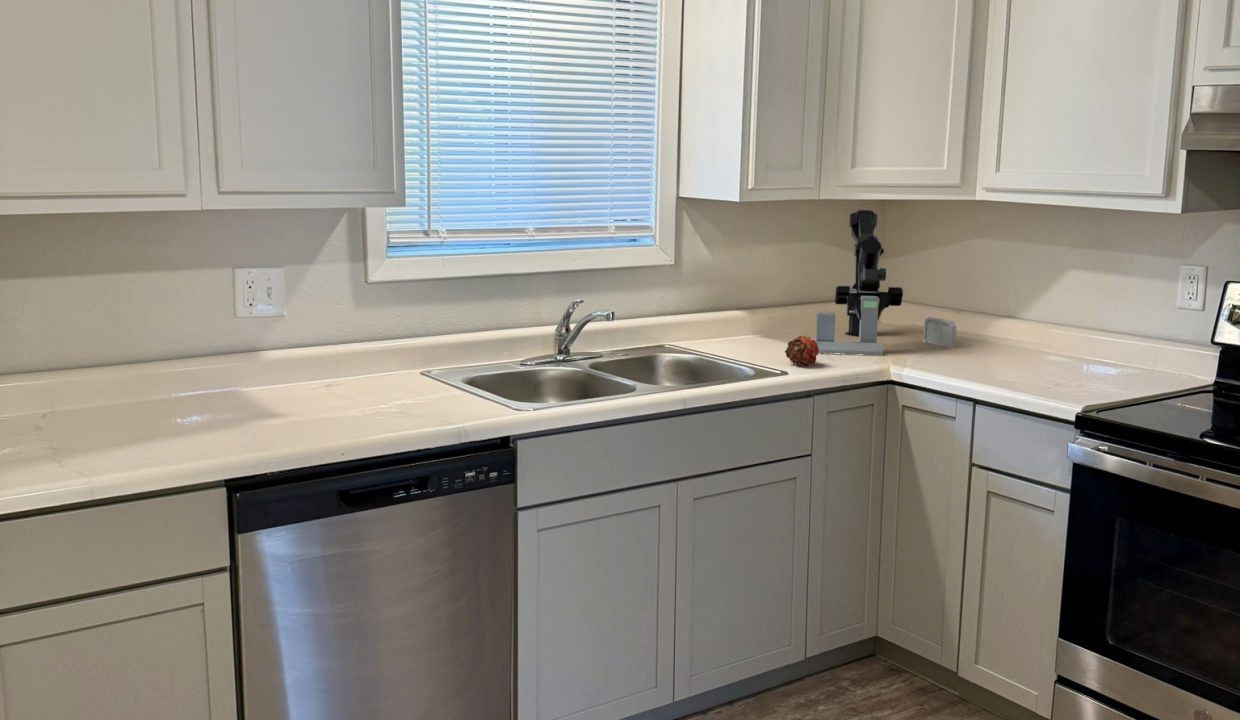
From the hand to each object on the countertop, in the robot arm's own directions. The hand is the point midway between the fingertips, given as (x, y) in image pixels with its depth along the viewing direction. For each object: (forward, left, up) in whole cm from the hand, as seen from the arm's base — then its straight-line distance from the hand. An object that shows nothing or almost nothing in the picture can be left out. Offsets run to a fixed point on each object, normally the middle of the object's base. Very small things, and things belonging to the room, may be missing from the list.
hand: (869, 319), depth 310 cm
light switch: (+3, +29, -10) cm, 31 cm away
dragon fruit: (+1, -28, -10) cm, 30 cm away
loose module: (-1, +1, -7) cm, 7 cm away
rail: (-3, -4, -10) cm, 11 cm away
